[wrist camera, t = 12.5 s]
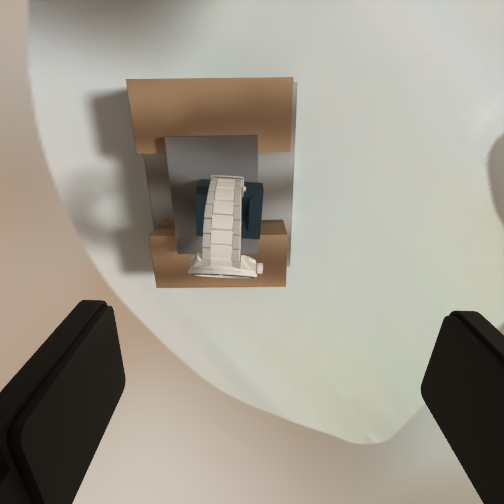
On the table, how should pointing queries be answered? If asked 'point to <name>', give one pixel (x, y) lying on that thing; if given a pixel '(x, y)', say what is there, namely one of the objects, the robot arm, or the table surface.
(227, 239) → the watch
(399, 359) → the table surface
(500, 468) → the robot arm
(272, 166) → the watch stand
